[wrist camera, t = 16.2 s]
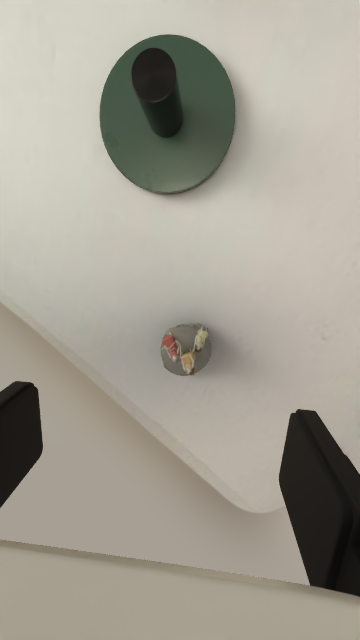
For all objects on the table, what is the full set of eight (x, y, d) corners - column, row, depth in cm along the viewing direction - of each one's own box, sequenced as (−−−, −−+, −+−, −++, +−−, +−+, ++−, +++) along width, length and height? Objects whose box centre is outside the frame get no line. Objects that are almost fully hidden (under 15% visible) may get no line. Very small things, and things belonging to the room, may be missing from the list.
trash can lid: (104, 191, 24) (68, 172, 17) (103, 43, 21) (59, -46, 14) (226, 198, 23) (234, 180, 17) (241, 46, 20) (259, -45, 14)
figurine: (186, 375, 27) (182, 410, 22) (151, 347, 27) (137, 375, 21) (223, 336, 26) (228, 363, 20) (186, 306, 26) (181, 324, 20)
